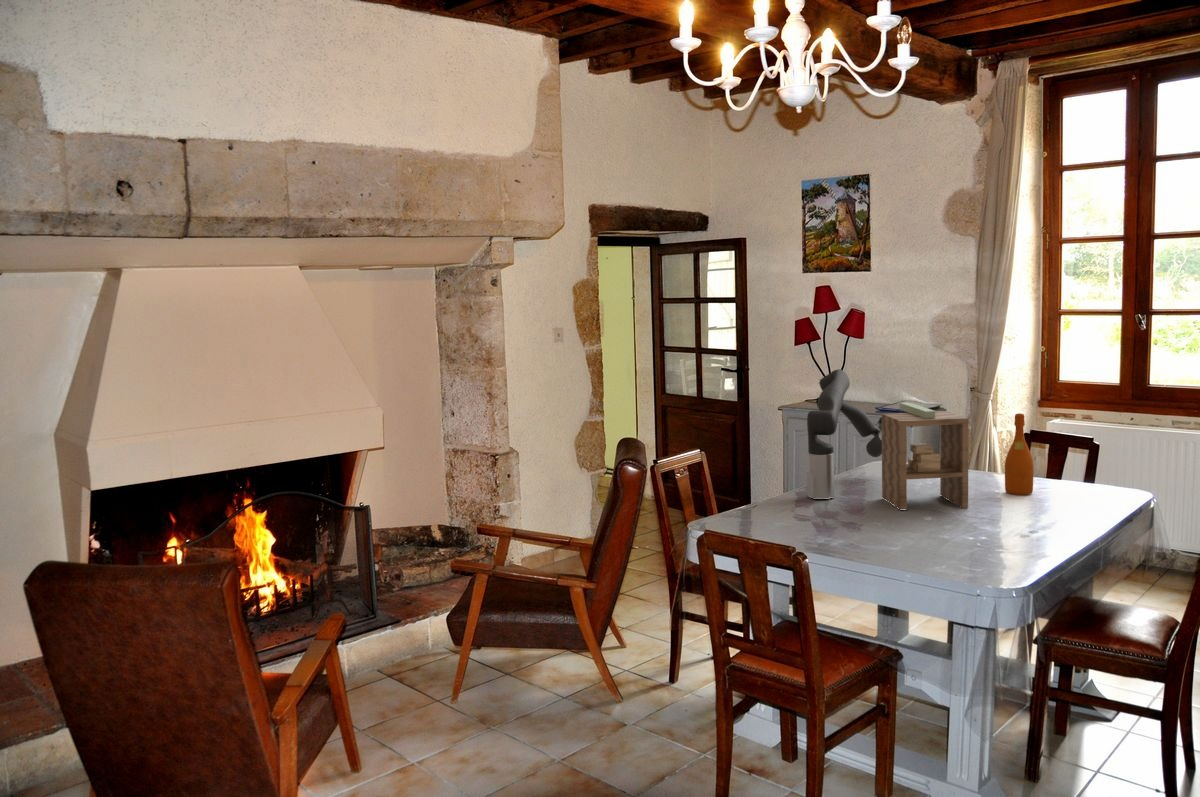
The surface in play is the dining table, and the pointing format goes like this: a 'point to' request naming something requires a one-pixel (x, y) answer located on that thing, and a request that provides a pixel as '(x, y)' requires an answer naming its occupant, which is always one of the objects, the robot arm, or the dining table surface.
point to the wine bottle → (1019, 463)
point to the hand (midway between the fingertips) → (902, 414)
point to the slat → (917, 410)
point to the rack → (925, 457)
